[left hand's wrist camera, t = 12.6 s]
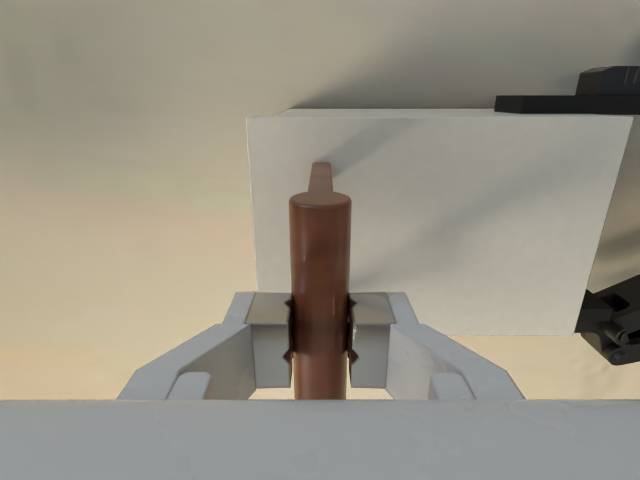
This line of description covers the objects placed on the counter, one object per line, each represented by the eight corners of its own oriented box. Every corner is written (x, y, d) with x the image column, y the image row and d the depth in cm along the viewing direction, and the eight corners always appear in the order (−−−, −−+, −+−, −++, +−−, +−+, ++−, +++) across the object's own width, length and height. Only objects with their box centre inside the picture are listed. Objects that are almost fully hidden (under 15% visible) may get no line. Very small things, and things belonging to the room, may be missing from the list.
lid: (262, 323, 18) (223, 471, 11) (249, 115, 15) (180, 134, 8) (560, 324, 18) (717, 474, 11) (615, 115, 15) (894, 134, 8)
